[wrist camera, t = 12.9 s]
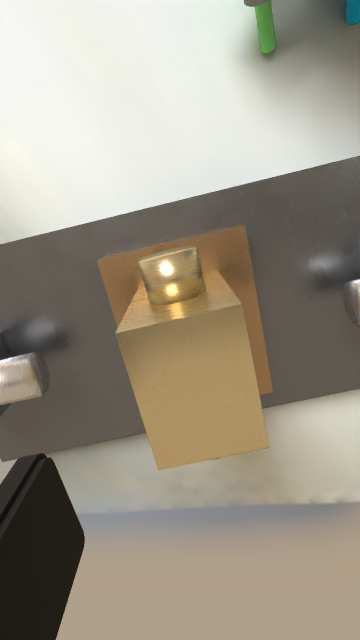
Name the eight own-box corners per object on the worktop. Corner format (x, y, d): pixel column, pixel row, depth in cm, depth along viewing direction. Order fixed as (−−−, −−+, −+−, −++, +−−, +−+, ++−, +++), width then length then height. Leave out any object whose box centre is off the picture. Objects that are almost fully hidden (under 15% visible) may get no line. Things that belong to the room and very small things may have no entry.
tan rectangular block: (210, 235, 18) (231, 248, 11) (243, 396, 20) (276, 485, 14) (127, 255, 18) (98, 281, 11) (171, 411, 21) (169, 506, 14)
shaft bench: (420, 142, 19) (524, 111, 13) (423, 362, 23) (504, 410, 17) (-73, 263, 21) (-167, 282, 15) (12, 447, 25) (-37, 517, 19)
